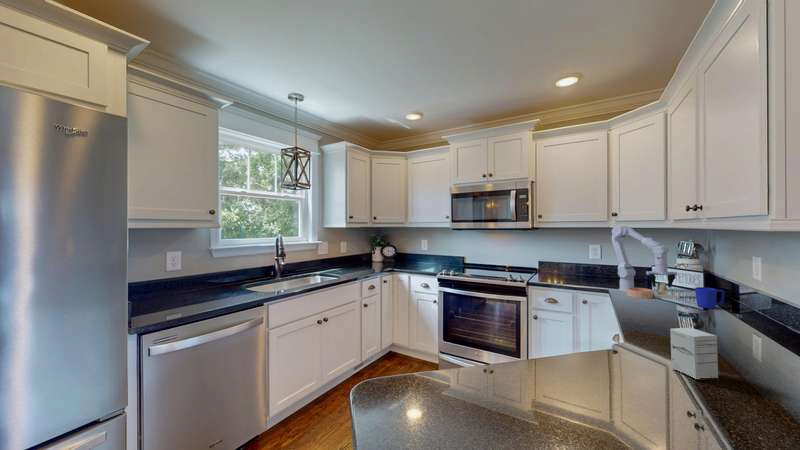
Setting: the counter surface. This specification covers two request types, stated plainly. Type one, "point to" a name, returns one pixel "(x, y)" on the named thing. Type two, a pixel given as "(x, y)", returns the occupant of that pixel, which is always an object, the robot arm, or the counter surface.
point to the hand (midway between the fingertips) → (661, 286)
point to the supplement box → (694, 352)
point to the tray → (669, 295)
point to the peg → (662, 288)
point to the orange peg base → (640, 292)
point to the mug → (708, 297)
